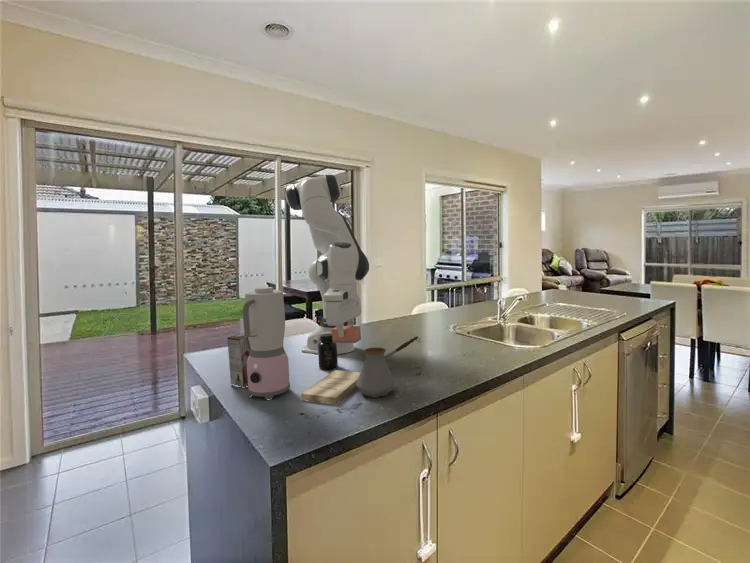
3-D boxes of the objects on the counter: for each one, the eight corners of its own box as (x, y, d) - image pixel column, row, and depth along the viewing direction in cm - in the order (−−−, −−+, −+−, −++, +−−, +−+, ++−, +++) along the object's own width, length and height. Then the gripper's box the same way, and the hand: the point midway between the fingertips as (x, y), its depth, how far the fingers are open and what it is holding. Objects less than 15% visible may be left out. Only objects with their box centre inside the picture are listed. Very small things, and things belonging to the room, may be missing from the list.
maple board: (301, 400, 113) (300, 393, 113) (334, 375, 134) (334, 370, 134) (336, 404, 109) (335, 397, 109) (365, 378, 130) (365, 372, 130)
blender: (265, 384, 128) (260, 285, 125) (298, 387, 124) (293, 285, 121) (231, 402, 113) (224, 291, 110) (267, 407, 109) (261, 291, 106)
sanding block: (332, 342, 129) (331, 329, 129) (339, 339, 134) (338, 326, 134) (355, 343, 127) (354, 329, 126) (361, 339, 131) (360, 326, 131)
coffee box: (252, 377, 135) (249, 331, 133) (265, 380, 131) (263, 332, 130) (229, 386, 127) (226, 336, 125) (243, 389, 124) (240, 338, 122)
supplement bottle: (340, 365, 146) (339, 333, 144) (332, 371, 139) (331, 337, 138) (324, 364, 148) (322, 332, 147) (315, 369, 141) (313, 336, 140)
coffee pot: (367, 403, 110) (365, 350, 109) (350, 390, 120) (348, 341, 119) (430, 388, 120) (429, 339, 118) (410, 377, 130) (409, 332, 128)
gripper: (347, 289, 140) (350, 327, 141) (320, 296, 121) (323, 341, 122) (364, 288, 138) (366, 328, 139) (339, 296, 119) (341, 341, 120)
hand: (346, 334), depth 130 cm, fingers closed on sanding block, 5 cm apart
